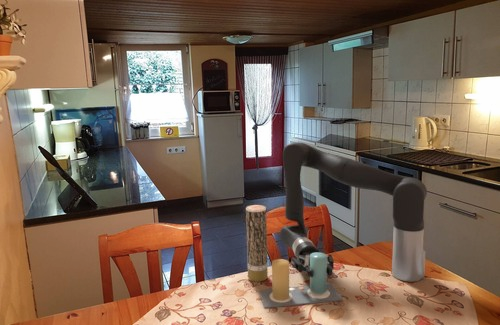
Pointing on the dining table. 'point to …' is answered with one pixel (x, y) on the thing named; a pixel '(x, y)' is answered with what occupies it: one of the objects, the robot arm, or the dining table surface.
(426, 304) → the dining table surface
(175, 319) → the dining table surface
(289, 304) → the card
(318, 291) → the teal tube
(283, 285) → the amber tube
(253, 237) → the wooden log
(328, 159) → the robot arm
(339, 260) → the dining table surface
